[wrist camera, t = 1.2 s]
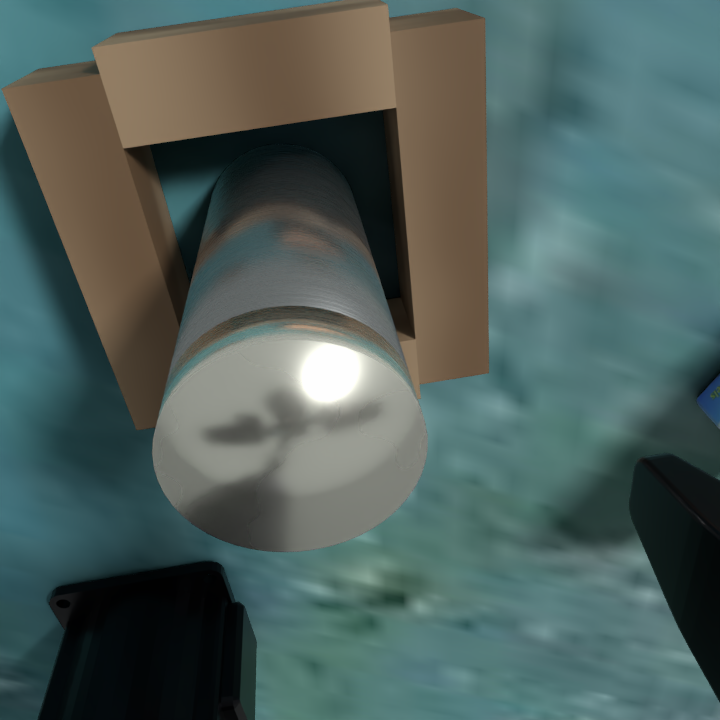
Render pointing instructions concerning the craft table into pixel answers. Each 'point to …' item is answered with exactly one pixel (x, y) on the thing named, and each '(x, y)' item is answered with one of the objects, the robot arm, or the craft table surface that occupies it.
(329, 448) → the silver metal cylinder
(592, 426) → the craft table surface
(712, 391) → the medicine box
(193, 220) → the craft table surface
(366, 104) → the brown wooden square frame
